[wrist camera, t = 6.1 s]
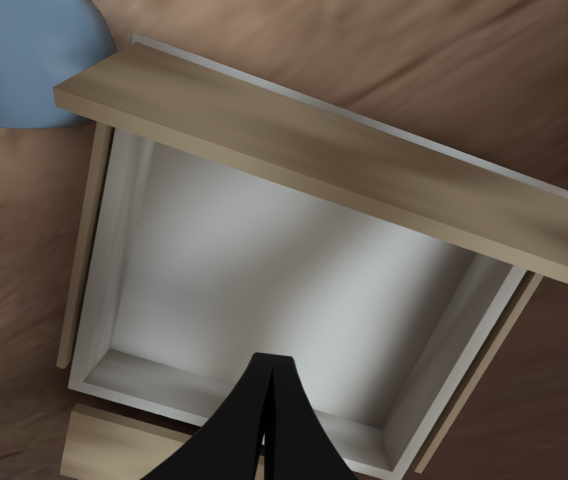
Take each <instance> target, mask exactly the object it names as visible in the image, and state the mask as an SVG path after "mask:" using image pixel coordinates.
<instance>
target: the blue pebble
mask: <svg viewBox="0 0 568 480" xmlns="http://www.w3.org/2000/svg"><path fill="white" fill-rule="evenodd" d="M115 53H116V49H115V45H114V41H113V37H112V35H111V32H110V29H109V27H108V25H107V23H106V21H105V19H104V17H103V16H102V14H101V13H100V11H99V10H98V8H97V7H96V6H95V5H94V3H93V2H92V1H91V0H0V127H4V128H11V129H26V128H69V127H75V126H78V125H81V124H83V123H85V122H87V121H89V120H91V119H89V118H86V117H83V116H80V115H77V114H74V113H72V112H69V111H66V110H63V109H60V108H57V107H56V106H55V100H54V94H53V87H54V86H56V85H58V84H59V83H61V82H63V81H65V80H67V79H69V78H70V77H72V76H74V75H76V74H78V73H80V72H82V71H83V70H85V69H87V68H89V67H91V66H93V65H94V64H96V63H98V62H100V61H102V60H104V59H106V58H107V57H109V56H111V55H113V54H115Z"/></svg>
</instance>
